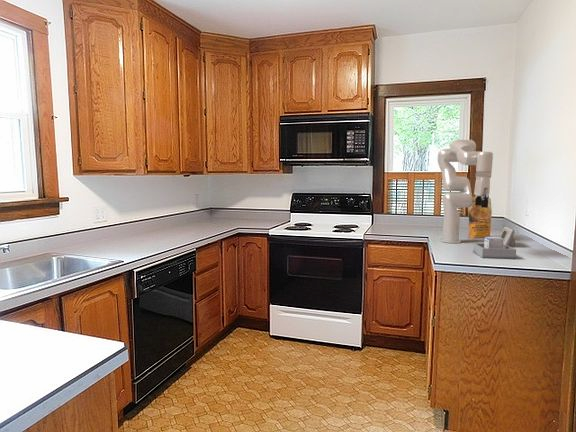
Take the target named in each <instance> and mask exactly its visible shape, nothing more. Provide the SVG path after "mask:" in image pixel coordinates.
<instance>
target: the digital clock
mask: <svg viewBox="0 0 576 432" xmlns="http://www.w3.org/2000/svg"><path fill="white" fill-rule="evenodd" d="M514 235H515V229H513V228H510V227H507V226H504V227H503V230H502V231H501V234H500V236H499V237H501V238H503V244H505V245H507V246H510V247H512V248H515V247H516V239H515V238H514Z"/></svg>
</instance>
